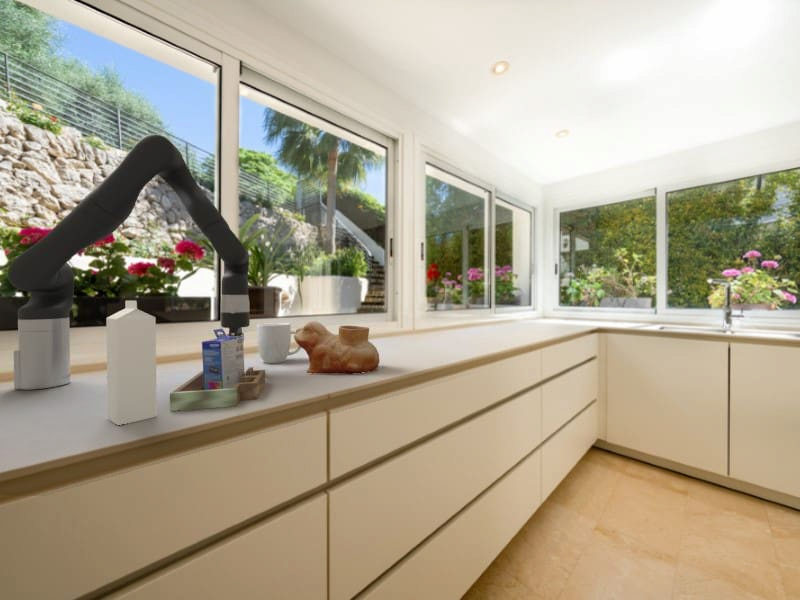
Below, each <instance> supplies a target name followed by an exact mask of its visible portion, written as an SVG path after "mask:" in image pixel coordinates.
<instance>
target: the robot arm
mask: <svg viewBox="0 0 800 600" xmlns="http://www.w3.org/2000/svg"><path fill="white" fill-rule="evenodd" d="M157 175H158V177H160V178H161V179H162V180H163V181H164V182H165V183H166V184H168V186H169V187H170V188H171V189H172V190H173V192H175V194H176V195H177V196H178V198H179V199H180V201H181V202H182V204H183V206H184V207H185V210H186V211H187V213H188V214H189V216H190V218H191V219H192V221H193V222H194V223H195V225H196V226H197V228H198V229H199V231H201V233H203V235H204V237H206V239H207V240H208V241H209V243H210V244H211V246H212V248H213V250H214V251H215V252H216V253H217V254H216V255H218V256H219V258H220V260H222V262H223V276H222V277H221V278H222V279H221V299H220V326H221V328H222V329H224V328H225V329H228V333H227V334H226V335H227V336H243V343H244V341H245V333H244V332H243V328H248V327H249V326H250V322H251V321H250V320H251V319H250V317H251V316H250V315H251V314H250V298H249V280H248V279H249V277H248V276H249V267H250V266H249V265H250V255H249V254H250V253H249V251H248V249H247V248H246V246H245V245H244V244H243V243H242V242H241V240H240V239H239V238H238V236H237V235H236V234H235V233H234V232H233V230H231V228H230V226H229V224H228V222H227V220H226V219H225V218H224V216H223V215H222V214H221V212H220V211H219V210H218V209H217V207H216V206H215V205H214V203H213V202H212V201H211V200H210V199H209V198H208V196H207V195H206V194H205V192H204V191H203V190H202V188H201V187H200V186H199V184H198V183H197V181H196V179H195V178H194V176H193V175H192V173H191V171H190V169H189V167H188V166H187V163H186V161H185V160H184V158H183V155H182V153H181V151H180V150H179V148H177V147H176V146H175V145H174V143H173V142H172V141H171V140H169V139H168V138H167V137H166V136H164V135H162V134H158V133H156V134H155V133H151V134H147V135H145V136H143V137H142V138H140V139H139V140H138V141H137V142H136V143H135V145H133V147H131V150H129V152H128V153H127V154H126V155H125V157H124V158H123V159H122V160H121V162H120V163H119V164H118V165H117V166H116V168H114V169H113V171H112V172H111V173H109V174H108V175H107V176H106V177H105V178H104V179H103V180H102V181H101V182H100V183H99V184H98V185H97V186H96V187H94V189H93V190H92V191H90V192H89V193H88V194H87V195H85V197H84V198H83V199H82V200H81V201H80V202H78V204H76V206H75V207H74V208H73V209H72V210H71V211H70V212H69V213H68V214H67V215H66V216H64V218H62V220H60V221H59V222H58V224H56V225H55V226H54V227H53V228H52V229H51V230H50V231H49V232H48V233H47V234H46V235H44V236H43V237H42V238H41V239H39V240H38V241H37V242H36V243H34V244H33V245H32V246H30V247H29V248H28V249H26V250H25V251H24V252H22V253H21V254H20V255H18V256H17V257H16V258H15V259H14V260H13V261H12V262H11V263H10V264H9V267H8V269H7V279H8V281H9V284H10V285H11V286H13V287H14V288H16V289H17V290H21V291H24V292H30V297H29V300H28V302H26V304H24V305H23V306H21V307H19V308H18V310H17V328H18V329H17V333H18V334H17V335H18V337H17V339H18V341H17V342H18V349H16V350H14V351H13V389H14V390H27V391H28V390H40V389H48V388H54V387H60V386H63V385H67V384H69V383H71V349H70V348H71V344H70V342H71V341H70V340H71V337H70V335H71V334H70V312H71V309H72V307H73V304H74V290H75V287H74V286H75V277H74V276H75V274H74V272H73V268H72V266H71V265H70V264H69V263H68V262H69V261H70V260H71V259H72V258H73V257H75V255H77V254H78V253H79V252H81V251H83V250H84V249H87V248H88V247H91V246H92V245H95V244H97V243H98V242H100V241H102V240H103V239H106V238H107V237H109V236H110V235H112V234H113V233H114V232H115V231H116V230H117V229H118V228H119V227H120V226H121V225H122V224H123V223H124V222H126V220H127V219H128V218H129V217H130V216H131V214H132V212H133V211H134V208H135V207H136V204H137V201H138V199H139V196H140V194H141V192H142V190H143V189H144V188H145V187H146V186H147V184H148V183H149V182H150V181H152V180H153V179H154V178H155V177H156V176H157Z"/></svg>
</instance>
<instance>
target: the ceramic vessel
mask: <svg viewBox="0 0 800 600" xmlns="http://www.w3.org/2000/svg"><path fill="white" fill-rule="evenodd" d="M295 331H296V333H295V334H293V335H294V336H293V339H294V341H295V343H296V344H297V345H298V347H299V346H300V347H301V349H303V350H304V352H306V355H307V356H308V361H309V366H308V368H307V370H306V374H308V373H312V374H311V375H314V374H313V373H328V374H329V373H339V374H338V375H340V373H348V374H347V375H354V374H353V373H360V374H363V373H362V372H365V373H368V372H367V371H370V372H374V371H373V370H375V371H377V368H378V367H379V365H380V353H379V351H378V349H377V347H376V346H375V345H374V344H373V343H372V342H370V341H369V334H370V333H369V332H370V327H368V326H367V327H366V326H360V325H359V326H358V325H340V326H338V333H337V334H335V333H332V332H331V331H329V330H328V329H327V328H326V326H325V325H323V324H322V323H321V322H319V321H316V320H311V321H309V322H307V323H306V324H305V325H304V326H302V327H299V328H297V329H296V330H295Z"/></svg>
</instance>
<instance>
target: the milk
mask: <svg viewBox="0 0 800 600" xmlns="http://www.w3.org/2000/svg"><path fill="white" fill-rule="evenodd" d="M124 305H125V306H124V307H125V308H124V309H121V310H119V311H117V312H115V313H113V314H112V315H110V316H107V317H106V319H105V320H106V324H105V325H106V367H107V368H106V370H107V371H106V376H107V378H106V381H107V383H106V385H107V419H108V420H109V421H110V422H112V423H113V424H115V425H116V424H117V425H116V426H118V425H120V426H123V425H122V424H124V425H128V424H131V423H132V422H133V423H135V422H140V421H145V420H148V419H153V418H156V417H158V412H157V411H158V410H157V409H158V403H157V401H158V400H157V392H158V391H157V340H156V339H157V336H156V334H157V331H156V330H157V326H156V325H157V324H156V321H157V320H156V316H153V315H151V314H150V313H146V312H145V311H142V310H141V309H138V303H137V300H125V303H124ZM127 423H128V424H127Z"/></svg>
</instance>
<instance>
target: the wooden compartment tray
mask: <svg viewBox="0 0 800 600" xmlns="http://www.w3.org/2000/svg"><path fill="white" fill-rule="evenodd" d="M264 384H265V385H266V369H256V370H254V367H251V366H250V367H248V369H246V371H245V376H242V377H241V378H240V383H236V384H235V385H234V386H233V387H231V388H229V389H214V390H204V389H203V388H204V377H203V370H202V371H200V372H199V373H197V374H196V375H194V376H193V377H192V378H190V379H189V380H187V381H186V382H184V383H182V384H181V385H180V386H178V387H177V388H176V389H174V390H172V391H171V392H170V393H169V412H177V411H178V410H180V411H190V410H192V409H193V410H202V409H203V410H204V409H217V407H218V408H227V407H229V406H230V408H231V407H236V406H238V404H239V402H240V401H242V400H243V401H244V399H245V400H258V398H259V396H260V395H261V392H262V390H263V388H264V387H265V385H264ZM200 389H201V390H200Z"/></svg>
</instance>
